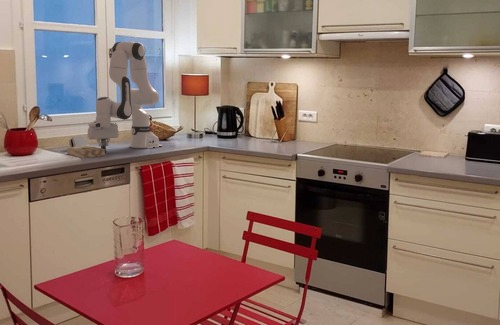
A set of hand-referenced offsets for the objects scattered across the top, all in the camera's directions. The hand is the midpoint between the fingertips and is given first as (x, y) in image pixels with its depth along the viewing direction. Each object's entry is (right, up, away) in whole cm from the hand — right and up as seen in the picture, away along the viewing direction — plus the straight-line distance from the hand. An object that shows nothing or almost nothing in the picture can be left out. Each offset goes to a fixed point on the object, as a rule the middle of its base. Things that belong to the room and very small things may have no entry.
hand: (103, 145), depth 344 cm
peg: (0, -4, +1) cm, 4 cm away
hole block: (-7, -6, -12) cm, 15 cm away
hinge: (-18, -2, +11) cm, 21 cm away
